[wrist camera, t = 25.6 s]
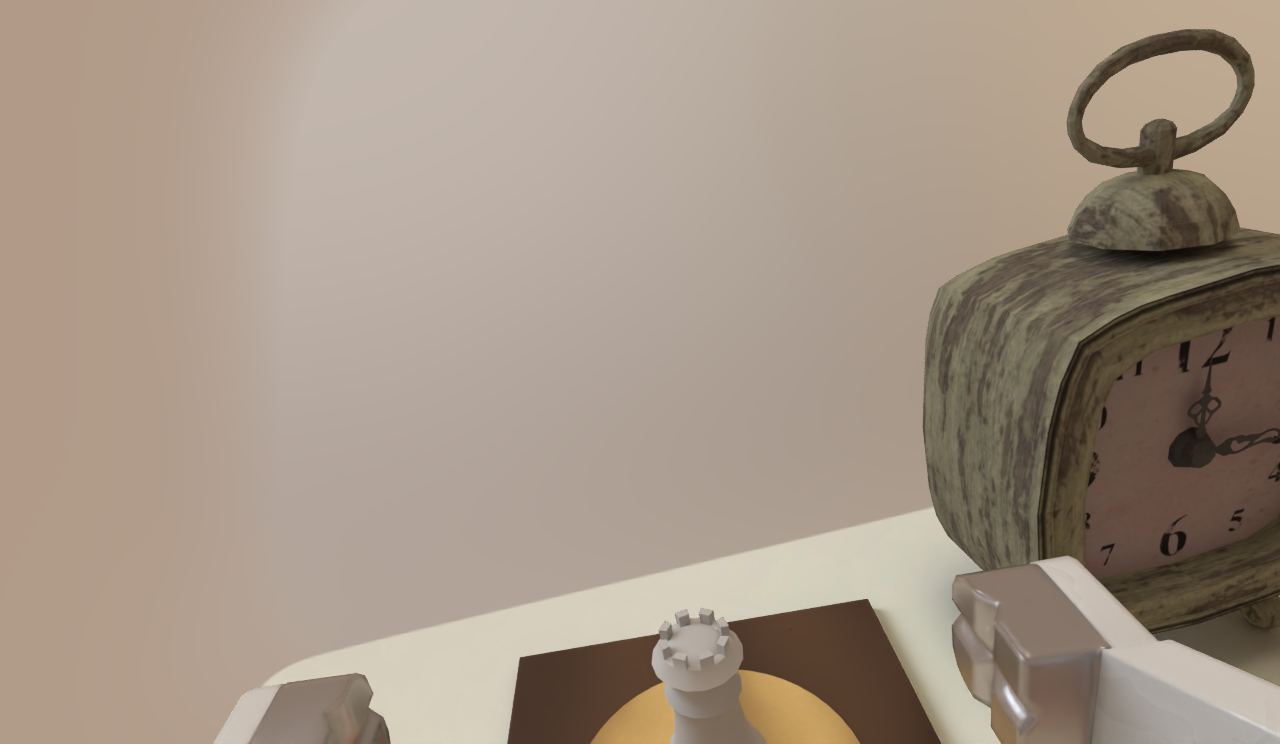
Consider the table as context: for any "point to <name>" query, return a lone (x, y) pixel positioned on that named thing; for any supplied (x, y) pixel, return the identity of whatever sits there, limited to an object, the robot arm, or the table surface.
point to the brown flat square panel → (770, 677)
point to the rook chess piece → (703, 680)
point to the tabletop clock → (1122, 382)
